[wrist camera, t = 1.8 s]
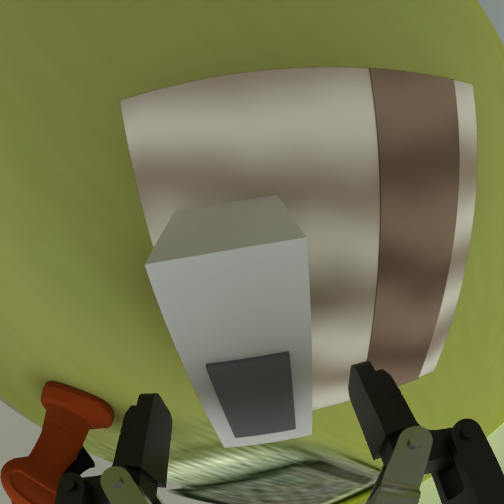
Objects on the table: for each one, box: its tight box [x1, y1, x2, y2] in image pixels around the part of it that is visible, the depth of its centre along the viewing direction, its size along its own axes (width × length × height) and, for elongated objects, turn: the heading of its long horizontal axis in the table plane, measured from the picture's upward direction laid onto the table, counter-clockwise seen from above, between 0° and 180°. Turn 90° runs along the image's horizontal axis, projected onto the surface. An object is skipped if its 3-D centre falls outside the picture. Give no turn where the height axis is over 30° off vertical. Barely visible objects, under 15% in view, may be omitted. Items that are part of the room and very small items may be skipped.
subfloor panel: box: [120, 67, 477, 410], centre depth 17 cm, size 24×20×1 cm
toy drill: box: [1, 382, 113, 504], centre depth 15 cm, size 5×19×15 cm, turn 71°
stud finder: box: [145, 195, 312, 448], centre depth 13 cm, size 12×5×6 cm, turn 8°
